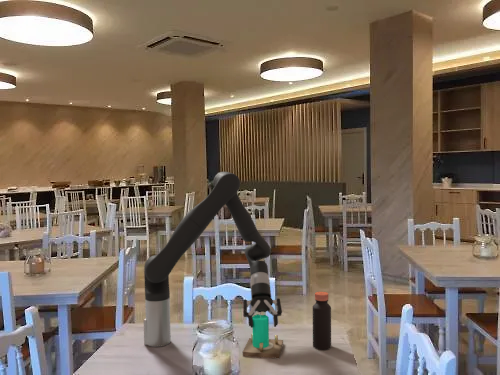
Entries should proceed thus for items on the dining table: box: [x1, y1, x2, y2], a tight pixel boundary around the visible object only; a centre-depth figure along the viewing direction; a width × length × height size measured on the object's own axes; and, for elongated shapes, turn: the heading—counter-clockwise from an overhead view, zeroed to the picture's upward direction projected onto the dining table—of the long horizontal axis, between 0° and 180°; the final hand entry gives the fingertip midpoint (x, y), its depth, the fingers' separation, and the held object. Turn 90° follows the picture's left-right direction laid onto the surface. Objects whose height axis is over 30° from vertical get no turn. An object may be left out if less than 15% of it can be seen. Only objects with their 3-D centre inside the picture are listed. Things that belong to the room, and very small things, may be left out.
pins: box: [250, 333, 279, 352], centre depth 163 cm, size 10×9×3 cm
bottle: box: [312, 291, 332, 351], centre depth 166 cm, size 7×7×20 cm
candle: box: [252, 312, 270, 348], centre depth 164 cm, size 6×6×12 cm
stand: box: [242, 337, 284, 359], centre depth 165 cm, size 13×13×2 cm
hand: (263, 326), depth 163 cm, fingers open, 8 cm apart
